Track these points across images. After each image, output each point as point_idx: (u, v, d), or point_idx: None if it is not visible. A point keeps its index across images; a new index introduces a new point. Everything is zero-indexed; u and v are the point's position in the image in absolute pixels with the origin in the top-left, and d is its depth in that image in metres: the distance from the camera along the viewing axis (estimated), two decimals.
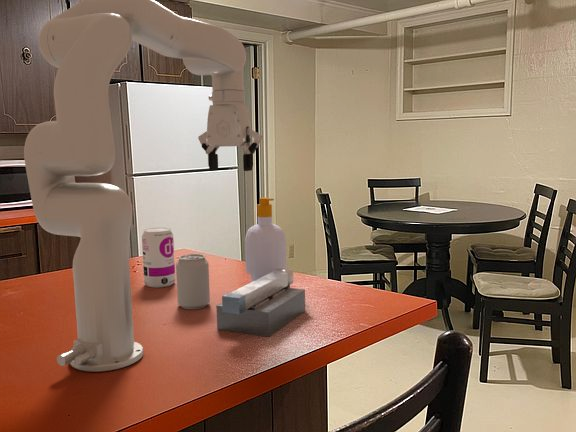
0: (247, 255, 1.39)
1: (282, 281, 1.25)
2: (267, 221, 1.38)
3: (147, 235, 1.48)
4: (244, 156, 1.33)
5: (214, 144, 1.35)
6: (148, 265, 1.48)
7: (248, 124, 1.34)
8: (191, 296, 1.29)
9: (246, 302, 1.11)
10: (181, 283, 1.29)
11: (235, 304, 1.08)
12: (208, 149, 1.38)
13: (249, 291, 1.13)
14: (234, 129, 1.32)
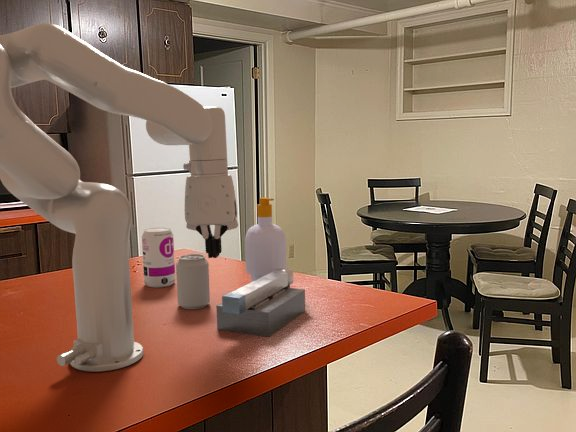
0: (247, 255, 1.39)
1: (282, 281, 1.25)
2: (267, 221, 1.38)
3: (147, 235, 1.48)
4: (213, 241, 1.15)
5: (195, 223, 1.14)
6: (148, 265, 1.48)
7: (235, 197, 1.15)
8: (191, 296, 1.29)
9: (246, 302, 1.11)
10: (181, 283, 1.29)
11: (235, 304, 1.08)
12: (204, 233, 1.15)
13: (249, 291, 1.13)
14: (222, 205, 1.12)
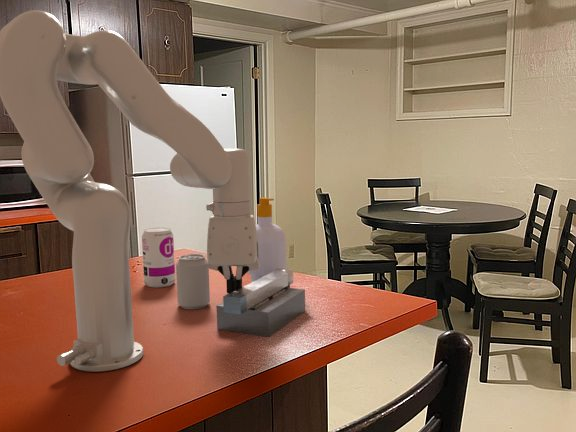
0: None
1: (282, 281, 1.25)
2: (267, 221, 1.38)
3: (147, 235, 1.48)
4: (235, 282, 1.15)
5: (218, 263, 1.14)
6: (148, 265, 1.48)
7: None
8: (191, 296, 1.29)
9: (247, 302, 1.11)
10: (181, 283, 1.29)
11: (236, 304, 1.08)
12: (225, 274, 1.16)
13: (250, 291, 1.13)
14: (245, 247, 1.13)
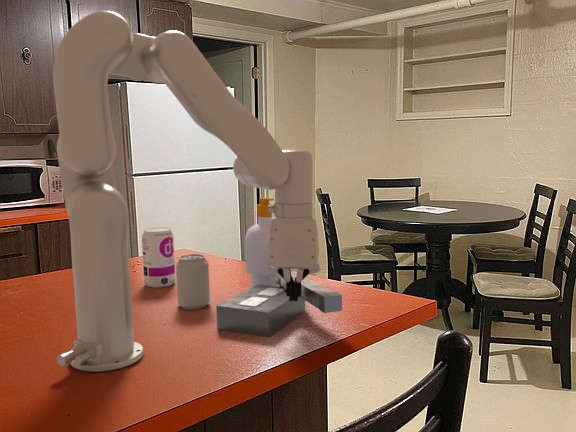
0: (247, 255, 1.39)
1: None
2: (267, 221, 1.38)
3: (147, 235, 1.48)
4: (295, 285, 1.14)
5: (279, 266, 1.12)
6: (148, 265, 1.48)
7: None
8: (191, 296, 1.29)
9: None
10: (181, 283, 1.29)
11: (338, 302, 1.09)
12: (285, 276, 1.14)
13: (327, 289, 1.13)
14: (307, 249, 1.11)
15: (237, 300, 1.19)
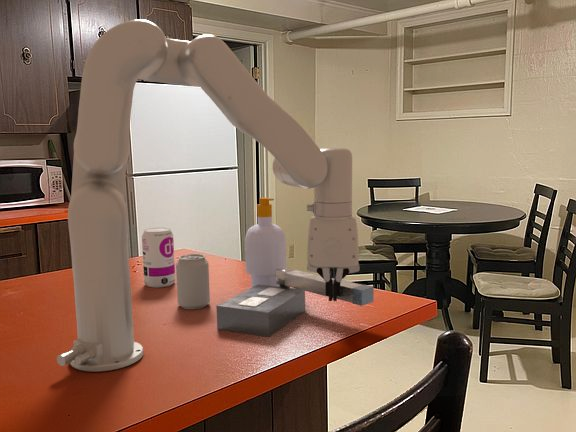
0: (247, 255, 1.39)
1: None
2: (267, 221, 1.38)
3: (147, 235, 1.48)
4: (335, 284, 1.13)
5: (319, 265, 1.11)
6: (148, 265, 1.48)
7: None
8: (191, 296, 1.29)
9: None
10: (181, 283, 1.29)
11: (370, 294, 1.14)
12: (325, 276, 1.13)
13: (351, 283, 1.18)
14: (347, 249, 1.10)
15: (237, 300, 1.19)
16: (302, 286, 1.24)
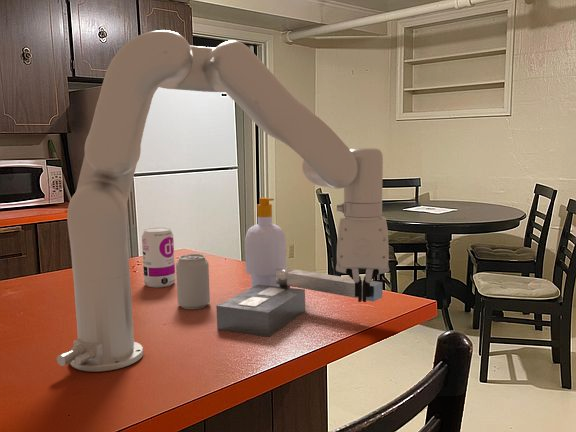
0: (247, 255, 1.39)
1: None
2: (267, 221, 1.38)
3: (147, 235, 1.48)
4: (364, 285, 1.12)
5: (349, 266, 1.11)
6: (148, 265, 1.48)
7: None
8: (191, 296, 1.29)
9: None
10: (181, 283, 1.29)
11: (380, 289, 1.17)
12: (355, 276, 1.12)
13: None
14: (378, 249, 1.10)
15: (237, 300, 1.19)
16: (306, 286, 1.25)
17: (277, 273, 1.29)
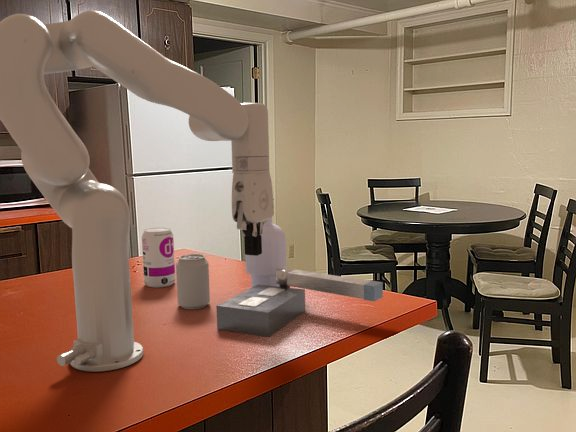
0: (247, 255, 1.39)
1: None
2: (267, 221, 1.38)
3: (147, 235, 1.48)
4: (260, 238, 1.16)
5: (258, 220, 1.12)
6: (148, 265, 1.48)
7: None
8: (191, 296, 1.29)
9: None
10: (181, 283, 1.29)
11: (380, 289, 1.17)
12: (254, 231, 1.14)
13: (359, 279, 1.20)
14: (270, 200, 1.16)
15: (237, 300, 1.19)
16: (306, 285, 1.25)
17: (277, 273, 1.29)
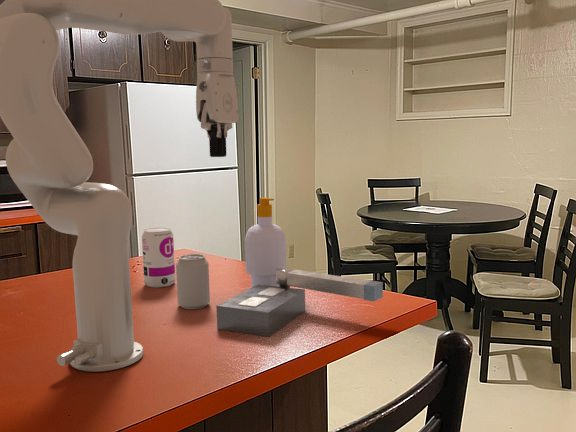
0: (247, 255, 1.39)
1: None
2: (267, 221, 1.38)
3: (147, 235, 1.48)
4: (225, 140, 1.20)
5: (221, 120, 1.16)
6: (148, 265, 1.49)
7: None
8: (191, 296, 1.29)
9: None
10: (181, 283, 1.29)
11: (380, 289, 1.17)
12: (218, 132, 1.18)
13: (359, 279, 1.20)
14: (234, 104, 1.21)
15: (237, 300, 1.19)
16: (306, 285, 1.25)
17: (277, 273, 1.29)
